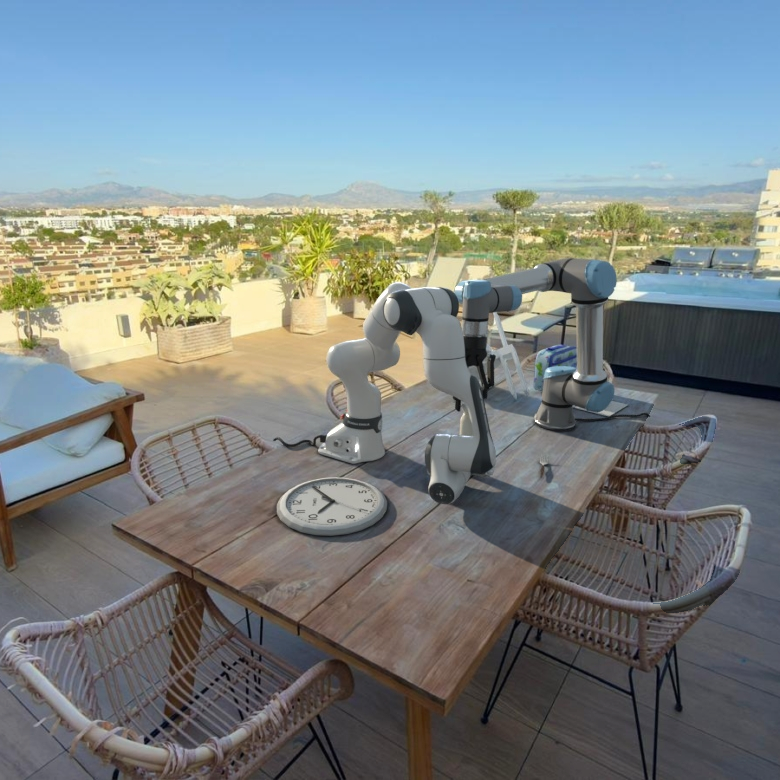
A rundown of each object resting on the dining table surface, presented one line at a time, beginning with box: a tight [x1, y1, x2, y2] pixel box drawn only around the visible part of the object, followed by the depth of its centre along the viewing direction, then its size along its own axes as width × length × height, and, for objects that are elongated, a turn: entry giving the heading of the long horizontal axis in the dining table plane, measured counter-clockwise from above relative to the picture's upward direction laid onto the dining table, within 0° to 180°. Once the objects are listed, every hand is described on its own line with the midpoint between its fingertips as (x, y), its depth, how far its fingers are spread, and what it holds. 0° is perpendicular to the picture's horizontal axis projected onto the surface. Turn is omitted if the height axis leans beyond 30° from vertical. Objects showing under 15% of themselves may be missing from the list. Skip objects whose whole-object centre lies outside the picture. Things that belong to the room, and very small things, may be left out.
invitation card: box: [573, 400, 629, 417], centre depth 226 cm, size 21×1×15 cm
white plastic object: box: [468, 312, 531, 400], centre depth 245 cm, size 37×45×31 cm
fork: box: [539, 453, 550, 478], centre depth 166 cm, size 3×16×2 cm, turn 160°
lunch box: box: [533, 344, 577, 392], centre depth 247 cm, size 26×11×21 cm, turn 134°
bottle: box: [458, 411, 473, 436], centre depth 161 cm, size 5×5×22 cm
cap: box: [461, 402, 469, 413], centre depth 158 cm, size 4×4×2 cm
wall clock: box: [276, 476, 388, 537], centre depth 142 cm, size 30×2×30 cm
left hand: (466, 451), depth 163 cm, fingers closed on bottle, 5 cm apart
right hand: (469, 409), depth 158 cm, fingers open, 7 cm apart
